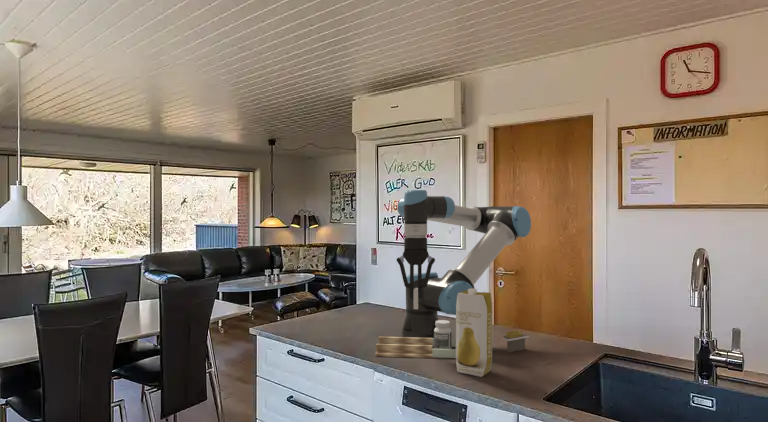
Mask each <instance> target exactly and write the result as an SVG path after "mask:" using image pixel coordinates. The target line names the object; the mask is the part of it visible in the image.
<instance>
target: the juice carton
mask: <svg viewBox="0 0 768 422" xmlns="http://www.w3.org/2000/svg"><path fill="white" fill-rule="evenodd" d="M477 290H478V289H477V288H476V287H475V288H471V289H468V290H466V291H462V292H460V293H458V295H457V302H456V315H455V339H456V347H455V349H456V358H455V362H456V371H457V372H458V373H460V374H464V375H465V374H466V375H470V376H474V377H479V378H482V377H485V376H486V375H487V374H488V373H489V372H490V371H491V369H492V364H493V299H492V298H493V297H492V293H491V292H489V291H488V292H482V291H481V292H479V291H477Z"/></svg>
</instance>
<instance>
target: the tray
mask: <svg viewBox="0 0 768 422" xmlns="http://www.w3.org/2000/svg"><path fill="white" fill-rule="evenodd" d="M432 347H434V338H432ZM452 347H453V348H452V349H434V348H432V354H433V358H439V359H443V358H446V359H456V338H452ZM454 347H455V348H454Z"/></svg>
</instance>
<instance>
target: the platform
mask: <svg viewBox="0 0 768 422" xmlns="http://www.w3.org/2000/svg"><path fill="white" fill-rule="evenodd" d="M529 337H530V335H528V334H525V333H523V331H522V330H520V331H519V330H518V329H517V330H510V331H506V332H505V335H503V336H502V339H503V340H504V341H506V346H507V347H506V350H507V353H512V352H517V351H521V350H526V338H529Z"/></svg>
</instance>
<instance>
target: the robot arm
mask: <svg viewBox="0 0 768 422" xmlns="http://www.w3.org/2000/svg"><path fill="white" fill-rule="evenodd" d="M454 201H455V200H453V198H451V197H449V196H446V195H442V196H441V195H440V196H439V195H438V196H435V195H434V196H433V195H432V196H431V195H430V196H429V195H428V192H427V190H425V189H408V190H406V191H405V192H404V196H403V197H402V198H400V199H399V201H398V202H397V212H398V214H399V215H400V216H401V217H402V218H404V219H403V221H404V222H403V223H404V224H403V227H404V229H403V230H404V232H403V234H404V236H405V237H404V239H403V240H404V246H403V247H404V248H403V249H404V251H403V253H402V255H401V256H399V257H396V262H397V264H398V265H399V268H400V273H401V277H402V280H403V281H402V282H403V285H404V287H405V316H404V320H403V322H402V324H401V325H402V326H401V328H400V337H417V338H434V329H435V328H436V325H435V322H436V321H438V320H440V319H439V314H438V312H439V313H443V314H446V315H451V316H456V302H457V295H458V293H460V292H462V291H466V290H468V289H471V288H475V289H476V287H475V284H476V283H477V282H478V280H479V279H480V278H481V277H482V275H483V274H484V273H485V272H486V270H487V269H488V268H489V267H490V266H491V264H492V263H493V262H494V261H495V259H496V258H498V256H499V254H501V252H502V251H503V250H504V248H505V247H506V246H510V245H513V244H514V242H515V241H516V240H517V239H518V238H519V237H520V238H525V237H527V236H528V235H529V234H530V232H531V228H532V219H531V215H530V213H529V211H528V210H527V209H526V208H525V207H523V206H517V205H514V206H506V205H504V206H499V205H497V206H493V205H492V206H473V205H472V206H469V207H466V206H461V205H456V204H455V202H454ZM428 221H431V222H437V223H440V224H441V223H442V224H448V225H453V226H460V227H465V228H466V229H467V230H468V231H474V232H478V233H480V234H481V233H482V234H483V236H482V237H481V238H480V240H479V241H478V242H477V243H476V244H475V246H473V248H472V249H471V250H470V251H469V252H468V253H467V254H466V256H465V257H464V258H463V259H462V260H461V262H460V263H459V264H458V265H457V266H456V267H455V268H451V269H448V270H447V271H446V273H445V274H444V275H443V276H442V277H439V275H438V274H439V273H437V272H431V271H432V267H433V265H434V263H435V262H436V258H435V257H432V256H431V255H430V254H429V252H428V238H427V237H426V236H428ZM426 260H427V267H426V272H422V269H423V268H422V265H423V264H424V263H425V261H426ZM405 261H406V262H407V264H408V265H409V274H408V275H407V273H406V270H405V265H404V262H405ZM414 266H417V272H416V273H415V270H414V269H415V267H414Z"/></svg>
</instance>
